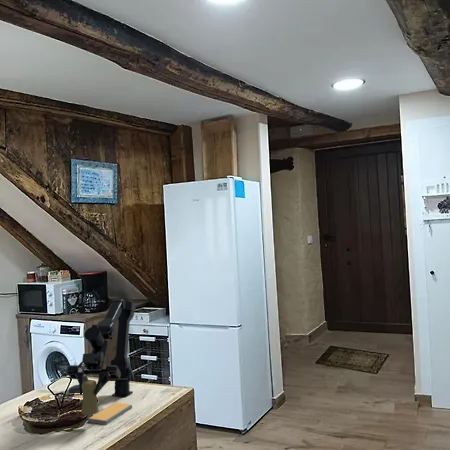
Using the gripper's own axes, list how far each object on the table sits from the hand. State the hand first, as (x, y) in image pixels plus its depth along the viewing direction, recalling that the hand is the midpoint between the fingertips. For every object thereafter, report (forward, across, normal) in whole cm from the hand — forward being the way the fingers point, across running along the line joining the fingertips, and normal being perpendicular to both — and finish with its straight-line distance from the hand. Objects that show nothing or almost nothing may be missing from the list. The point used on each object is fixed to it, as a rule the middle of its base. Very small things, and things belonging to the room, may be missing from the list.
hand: (88, 394), depth 181 cm
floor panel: (-1, +3, +18) cm, 18 cm away
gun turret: (-20, -22, +39) cm, 49 cm away
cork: (+4, 0, +6) cm, 7 cm away
